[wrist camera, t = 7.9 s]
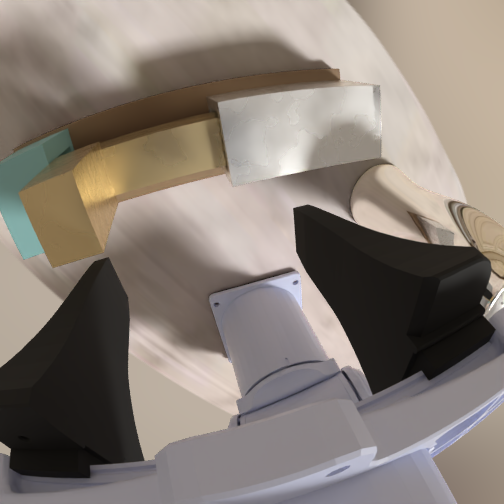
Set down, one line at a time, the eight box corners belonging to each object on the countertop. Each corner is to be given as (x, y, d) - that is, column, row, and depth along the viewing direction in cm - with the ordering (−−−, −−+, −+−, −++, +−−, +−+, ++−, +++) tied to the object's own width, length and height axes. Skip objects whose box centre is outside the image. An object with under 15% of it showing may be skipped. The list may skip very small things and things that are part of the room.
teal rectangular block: (93, 207, 19) (78, 241, 15) (45, 224, 18) (23, 259, 14) (67, 128, 15) (42, 144, 12) (17, 150, 15) (-15, 172, 11)
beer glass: (330, 216, 25) (453, 349, 13) (372, 143, 22) (532, 236, 10) (382, 241, 28) (488, 352, 16) (419, 180, 25) (546, 270, 13)
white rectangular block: (344, 139, 21) (381, 157, 17) (218, 163, 19) (232, 186, 16) (340, 79, 18) (379, 85, 14) (206, 96, 17) (217, 102, 13)
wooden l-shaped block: (259, 152, 19) (310, 198, 12) (58, 208, 17) (15, 280, 11) (251, 97, 17) (304, 113, 10) (40, 158, 15) (-20, 210, 9)
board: (337, 146, 22) (344, 150, 21) (47, 221, 19) (43, 228, 18) (332, 68, 18) (339, 68, 18) (19, 146, 16) (13, 149, 15)
